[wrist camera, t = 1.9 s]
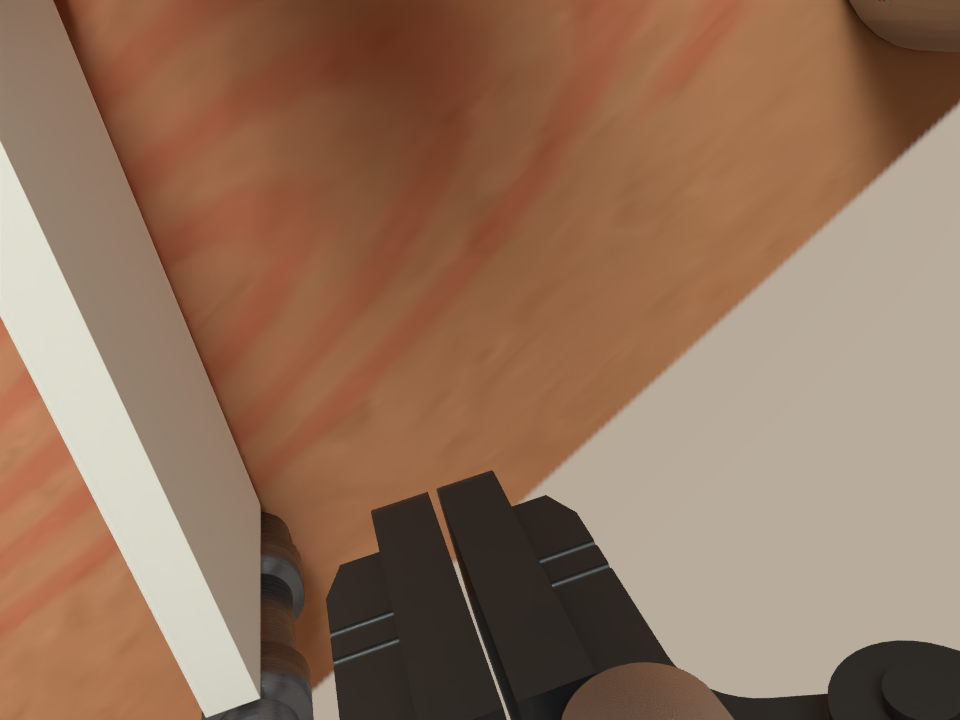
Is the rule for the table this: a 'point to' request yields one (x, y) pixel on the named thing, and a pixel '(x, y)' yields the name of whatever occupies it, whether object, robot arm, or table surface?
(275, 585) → the gate post
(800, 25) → the table surface
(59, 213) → the gate
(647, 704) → the robot arm
